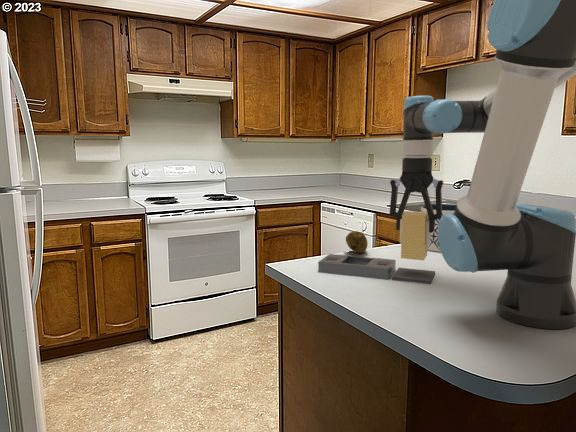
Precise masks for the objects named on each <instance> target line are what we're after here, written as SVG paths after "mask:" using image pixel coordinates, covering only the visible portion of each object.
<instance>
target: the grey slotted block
mask: <svg viewBox="0 0 576 432" xmlns="http://www.w3.org/2000/svg"><path fill="white" fill-rule="evenodd" d="M396 262H397V260H396V259H390V258H389V259H388V258H381V257H380V258H378V257H368V256H367V257H366V256H356V255H346V254H334V253H330V254H328V255H326V256H324V257H323V258H322V259H319V261H318V262H317V263H318V264H317V266H318V270H317V271H318V273H325V274H335V275H345V276H354V277H363V278H371V279H382V280H389V279H390V278H391V277H392V276H393V275H394V273H395V272H396Z"/></svg>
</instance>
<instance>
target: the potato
mask: <svg viewBox="0 0 576 432" xmlns="http://www.w3.org/2000/svg"><path fill="white" fill-rule="evenodd" d="M345 242H346V245H347V247H348V248H349V249H350V250H352V251H353V252H355V253H357V254H363V253H365V252H366V250H367V248H368V244H369V243H368V239H367V237H366V235H365V234H364V233H363V232H361V231H357V230H356V231H355V230H354V231H350V232H349V233H348V234H347V235H346V236H345Z"/></svg>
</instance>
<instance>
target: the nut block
mask: <svg viewBox="0 0 576 432" xmlns="http://www.w3.org/2000/svg"><path fill="white" fill-rule="evenodd" d="M427 219H428V213H427V212H421V211H414V210H413V211H412V210H411V211H410V210H409V211H408V210H406V211H404V212H403V214H402V237H401V243H400V244H401V245H400V259H406V260H413V261H414V260H417V261H425V259H426V258H427V256H428V250H427V245H425V240H426V220H427Z"/></svg>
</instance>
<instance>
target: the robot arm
mask: <svg viewBox="0 0 576 432" xmlns="http://www.w3.org/2000/svg"><path fill="white" fill-rule="evenodd" d="M486 29H487V31H488V33H487V35H486V36H487V39H488V42H489V44H490V46H491V47H492V48H494V49H495V50H496V51H495V55H494V60H495V61H496V63H497V65H498V66H499V68H500V70H501V71H500V74H499V77H498V81H497V86H496V88H494V89H493V90H492V91H490V93H489V94H487V95H486V96H485V97H484V98H483V99H480V100H454V99H447V98H446V99H445V98H444V99H436V100H435V98H434V97H433V96H431V95H413V96H408V97H406V98H405V100H404V102H403V104H404V105H403V109H402V110H403V111H402V115H403V119H402V120H403V124H402V125H403V128H402V129H403V132H402V133H403V134H402V135H403V137H402V138H403V139H402V156H404V157H403V158H402V168H401V174H400V177H398V178H394V179H391V180H390V181H389V184H390V187H391V195H390V204H389V216H391V217H392V218H393V217H394V218H395V220H396V223H395V228H396V231H399V243H400V244H401V237H402V214H403V213H404V212H405V209H406V207H407V203H408V201H409V198H410V195H411V194H412V193H415V192H416V193H419V194H420V193H421V196H422V199H423V203H424V205H425V206H426V210H427V213H428V217H429V219H427V220H426V240H425V245H429V243H430V232H433V231H434V224H435V220H436V219H439V218H441V219H440V221H439V224H438V242H439V246H440V250H441V252H440V253H441V255H442V258H443V259H444V261H445V263H446V265H448V266H449V268H451V269H452V270H454V271H456V272H458V273H459V272H462V273H468V272H470V273H477V272H487V271H488V272H491V271H492V272H493V271H504V270H505V271H506V270H507V273H506V274H507V275H506V277H505V280H504V283H503V285H502V287H501V290H500V292H499V293H498V296H497V298H496V303H495V305H496V306H495V311H496V313H497V314H498V315H499V316H500V317H502V318H504V319H505V320H507V321H510V322H513V323H515V324H519V325H522V326H525V327H526V326H527V327H532V328H538V329H547V330H549V329H550V330H560V329H561V330H562V329H570V328H572V327H575V326H576V297H575V292H574V289H573V286H572V277H573V265H574V253H575V246H576V244H575V243H576V216H575V214H574V213H573V212H572V211H569V210H565V209H561V208H554V207H550V206H548V207H547V206H542V205H534V204H524V203H518V199H519V196H520V193H521V190H522V187H523V184H524V180H525V178H526V175H527V173H528V170H529V167H530V164H531V160H532V157H533V155H534V151H535V148H536V145H537V142H538V139H539V136H540V134H541V132H542V127H543V124H544V122H545V119H546V115H547V112H548V110H549V107H550V104H551V101H552V98H553V95H554V92H555V89H557V88H558V87H560V86H561V85H562V84H564V83H566V82H567V81H568V80H571V78H573V77H575V75H576V0H494V1H493V4H492V6H491V8H490V11H489V15H488V19H487V28H486ZM458 133H459V134H460V133H461V134H463V133H465V134H466V133H467V134H468V133H473V134H474V133H477V134H478V133H479V134H481V133H483V136H482V139H481V144H480V147H479V151H478V154H477V158H476V161H475V166H474V170H473V174H472V176H471V179H470V180H471V181H470V185H469V188H468V191H467V194H465V195H463V196H461V197H459V198H458V200H457V201H456V204H455V205H456V208H455V212H454V214H451V213H448V214H446V215H444V216H443V217H442V204H443V203H442V202H443V200H442V197H443V196H442V195H443V194H442V188H443V185H444V183H445V182H444V180H443V179H442V180H441V179H440V180H439V179H436V178H434V176H433V170H432V169H433V158H432V157H431V156H432V155H433V151H434V150H433V145H434V141H433V140H434V134H458ZM400 184H402V185H403V187H404V188H405V190H404V193H403V196H402V198H401V201H400V204H399V207H398V210H397V205H398V204H397V203H398V192H399V191H398V190H399V187H400ZM432 184H433V187H434V188H435V204H436V214H434V212H433V208H432V205H431V204H432V202H431V199H430V195H429V191H428V188H429V187H430V185H432Z"/></svg>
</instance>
